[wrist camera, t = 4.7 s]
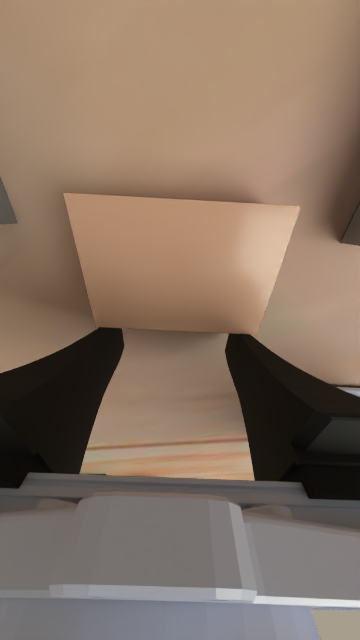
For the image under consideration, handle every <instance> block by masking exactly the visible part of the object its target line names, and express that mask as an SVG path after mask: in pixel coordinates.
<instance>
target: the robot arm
mask: <svg viewBox="0 0 360 640" xmlns="http://www.w3.org/2000/svg"><path fill="white" fill-rule="evenodd" d="M123 349H124V340H123V334H122V328H107V327H100V328H98V329H96V330H95V331H93V332H92V333H90V334H88V335H87V336H85V337H83V338H82V339H80V340H78V341H76V342H75V343H73V344H71V345H69V346H67V347H65V348H64V349H62V350H59V351H57V352H55V353H53V354H51V355H49V356H46V357H44V358H41V359H39V360H36V361H34V362H32V363H29V364H26V365H24V366H21V367H18V368H15V369H12V370H9V371H6V372H3V373H0V640H321V638H320V635H319V632H318V629H317V626H316V623H315V620H314V617H313V614H312V610H311V609H322V610H360V388H349V387H335V386H332V385H330V384H328V383H326V382H324V381H322V380H319V379H317V378H315V377H313V376H312V375H310V374H308V373H306V372H304V371H302V370H300V369H299V368H297V367H295V366H293V365H292V364H290V363H288V362H287V361H285V360H284V359H282V358H281V357H279V356H278V355H276V354H275V353H273V352H272V351H271V350H269V349H268V348H266V347H265V346H264V345H263V344H261V343H260V342H259V341H257V340H256V339H255V338H254V337H253V336H251V335H250V334H233V333H229V336H228V340H227V344H226V349H225V353H226V359H227V364H228V367H229V370H230V373H231V376H232V379H233V382H234V385H235V388H236V391H237V393H238V397H239V400H240V404H241V408H242V413H243V417H244V422H245V427H246V432H247V437H248V442H249V448H250V453H251V459H252V466H253V472H254V478H255V481H249V480H221V479H194V478H166V477H139V476H111V475H84V474H79V473H80V469H81V466H82V462H83V458H84V455H85V451H86V448H87V444H88V441H89V438H90V434H91V431H92V428H93V425H94V422H95V418H96V415H97V412H98V409H99V407H100V404H101V401H102V398H103V395H104V393H105V391H106V388H107V386H108V384H109V382H110V380H111V378H112V376H113V374H114V371H115V369H116V367H117V365H118V363H119V361H120V358H121V355H122V352H123Z"/></svg>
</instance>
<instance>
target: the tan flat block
mask: <svg viewBox="0 0 360 640" xmlns="http://www.w3.org/2000/svg"><path fill="white" fill-rule="evenodd" d="M63 195H64V199H65V203H66V207H67V211H68V215H69V219H70V224H71V228H72V232H73V236H74V240H75V244H76V248H77V252H78V256H79V261H80V265H81V269H82V273H83V277H84V281H85V285H86V289H87V293H88V298H89V302H90V306H91V310H92V314H93V318H94V322H95V326H96V327H107V328H128V329H149V330H170V331H191V332H212V333H233V334H254V335H257V334H258V331H259V328H260V325H261V323H262V320H263V317H264V314H265V311H266V308H267V305H268V302H269V299H270V296H271V293H272V290H273V287H274V284H275V281H276V278H277V275H278V273H279V270H280V267H281V264H282V261H283V258H284V255H285V252H286V249H287V246H288V243H289V240H290V237H291V234H292V231H293V228H294V225H295V223H296V220H297V217H298V214H299V211H300V208H301V206H291V205H273V204H255V203H237V202H219V201H202V200H184V199H166V198H148V197H130V196H113V195H95V194H77V193H63Z"/></svg>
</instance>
